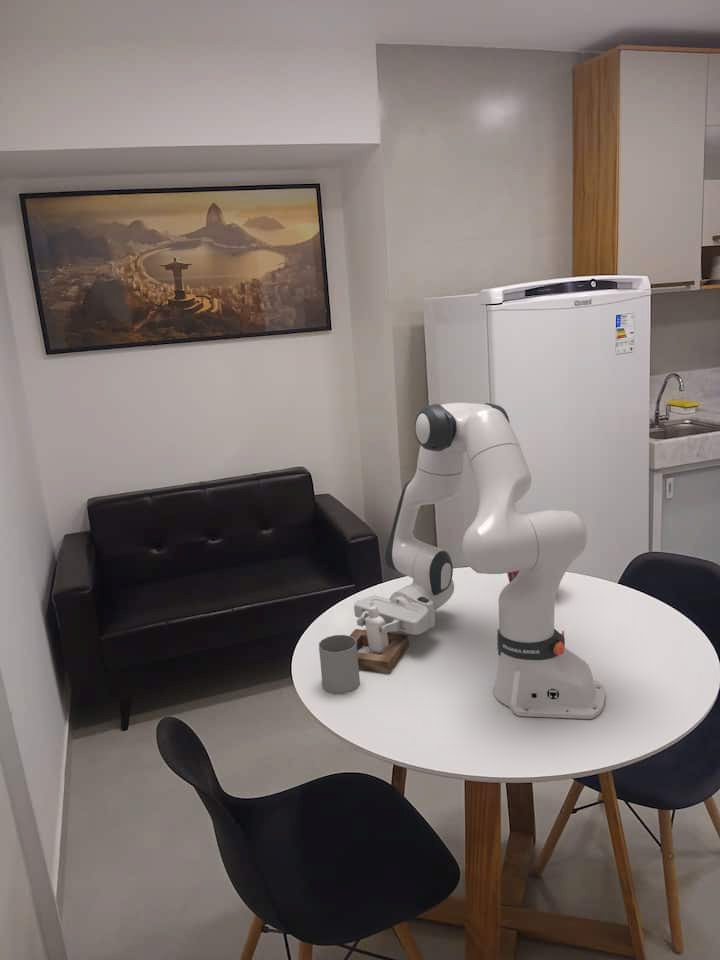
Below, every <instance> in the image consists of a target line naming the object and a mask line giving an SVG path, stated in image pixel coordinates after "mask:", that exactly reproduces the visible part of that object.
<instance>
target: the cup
mask: <svg viewBox="0 0 720 960" xmlns="http://www.w3.org/2000/svg"><path fill="white" fill-rule="evenodd" d="M318 651H319V653H318V654H319V661H320V672H321V683H322V690H324V691H325V692H326V693H328V694H331V693H332V694H333V695H345V694H349V692H350V693H352V692H354V691H355V690H357V689H359V687H360V685H361V681H360V670H359V666H358V654H357V643H356V639H354V638H353V637H351V636H350V635H346V634H334V635H330V636H327V637H325V638H322V639H321V640H320V641H319V642H318Z"/></svg>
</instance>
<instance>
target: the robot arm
mask: <svg viewBox="0 0 720 960" xmlns="http://www.w3.org/2000/svg"><path fill="white" fill-rule="evenodd" d="M415 418H416V419H415V422H414V423H415V424H414V431H415V437H416V440H417V442H418V443H419V452H418V457H417V463H416V464H417V465H416V471H415V474H414V476H413V478H412V479H409V480H408V481H407V482H406V483H405V484H404V487H403V488H402V491H401V494H400V497H399V500H398V505H397V508H396V513H395V515H394V520H393V525H392V528H391V532H390V536H389V538H388V540H387V542H386V544H385V547H384V549H383V559H384V562H385V565H386V567H387V569H388V570H390V571H391V572H394V573H398V574H401V575H404V576H407V577H409V578H411V579H412V583H411V584H409V585H407V586H406V585H405V587H402V588H401V589H398V590H396V591H394V592H393V593H392V594H391V595H390V597H389V598H386V597H382V596H378V595H372V596H371V595H370V596H368V597H367V596H366V597H365V598H362V599H360V600H357V601H355V603H354V604H353V609H354V616H355V617H356V618H357V620H356V624H357V626H359V627H361V628H362V627H364V626H365V619H366V618H367V617H368V616H369V614H368V607H370V602H371V601H373V602H374V605H375V606H378V612H379V616H381V617H382V618H383V619H384V620H385V624H384V623H383V624H382V625H380V626H379V632H380V633H383V634H386V633H392V632H397V631H399V632H402V633H406V634H407V635H412V636H418V635H421V634H423V633H425V632H427V630H429V629H430V628H432V627H435V623H436V622H435V621H436V620H435V618H436V616H435V615H436V614H435V611H437V610H438V609H439V608H441V607H442V606H443V605H445V604H446V603H448V601H449V600H450V599H451V598H452V596H453V594H454V593H455V583H454V580H453V571H454V567H453V562H452V559H451V558H452V557H451V556H450V554H449V553H448V551H445V550H443V549H441V548H439V547H437V546H434V545H432V544H428V543H426V542H423V541H421V540H419V539H417V538H416V537H415V536H414V527H415V524H416V519H417V517H418V513H419V509H420V508H421V506H425V505H435V504H440V503H443V502H447V501H449V500H451V499H452V498H453V497H455V495H456V494H457V493H458V492H459V490H460V487H461V484H462V480H463V479H462V477H463V471H464V470H463V469H464V456H465V453H467V454H466V455H467V458H468V461H469V464H470V468H471V471H472V474H473V478H474V481H475V485H476V488H477V490H476V491H477V494H478V509H477V513H476V516H475V519H473V522H472V523H471V524H470V526H469V527H467V530H466V531H465V533H464V535H463V537H462V541H461V550H462V554H463V558H464V560H465V562H466V564H467V565H468V566H469V568H470V569H471V570H472V571H474V572H475V573H476V574H483V575H484V574H486V575H502V574H507V573H509V572H515V571H519V573H518V574H517V576H516V577H515V578H514V579H513V580H512V581H511V582H508V584H506V585H505V586H504V587H503V589H502V590H501V592H500V593H499V595H498V622H499V623H498V625H499V626H498V630H497V633H496V647H497V648H496V649H497V655H498V656H499V657H498V665H497V667H498V668H497V675H496V678H495V682H494V686H493V695H494V697H495V698H496V699H497V700H498V701H499V703H502V705H505V706H507V707H508V708H510V710H511V711H512V712H513V713H514V714H515V715H516V716H518V717H528V718H529V717H534V718H556V719H561V718H562V719H582V720H585V719H586V720H590V719H591V720H593V719H594V718H596V717H598V716H599V715H600V714H601V713H602V711H603V710H604V708H605V704H606V691H605V688H604V686H603V685H602V683H600V682H599V681H598V680H595V679H594V677H593V674H592V670H591V667H590V666H589V664H588V663H587V662H586V660H584V659H582V658H581V657H579V656H578V655H576V654H575V653H574V652H572V651H570V650H569V649H568V648H566V639H565V638H566V637H565V631H564V630H562V631H561V633H560V632H559V631H558V630H557V629H555V609H556V598H557V594H558V589H559V587H560V585H561V582H562V580H563V578H564V575H565V574H566V572H567V571H568V569H569V568H570V566H571V565H572V564H573V563H574V562H575V561H576V559H578V558H579V557H580V556H581V555H582V554H583V553H584V551H585V550H586V546H587V541H588V532H587V529H586V525H585V523H584V522H583V520H582V519H581V517H580V516H579V515H578V514H576V513H575V512H573V511H571V510H560V509H559V510H558V509H557V510H556V509H546V510H541V511H540V510H539V511H535V512H527V513H519V512H518V510H517V507H516V503H517V502H518V501H520V500H521V499H522V498H523V497H524V496H525V495H527V493H528V491H530V488H531V486H532V485H531V484H532V475H531V473H530V470H529V467H528V464H527V462H526V458H525V455H524V453H523V450H522V447H521V445H520V442H519V440H518V438H517V435H516V434H515V431H514V429H513V426H512V425H511V423H510V419H509V416H508V413H507V411H506V410H505V409H504V408H503V407H502V406H501V405H497V404H493V403H489V402H486V403H478V402H477V403H474V402H473V403H472V402H462V401H461V402H449V403H443V404H439V403H434V404H430V405H427V406H424V407H422V408H421V409H420V410H419V411H418V414H417V415H416V417H415ZM365 627H366V626H365Z"/></svg>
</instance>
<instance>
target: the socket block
mask: <svg viewBox="0 0 720 960" xmlns="http://www.w3.org/2000/svg"><path fill="white" fill-rule="evenodd" d="M409 635H410V634H404V633H396V632H395V633H394V632H387V636H388V643H389V646H388V647H387V649H386V650H385V651H384V652H383V653H381V654H377V653H376V654H375V653H371V652H370V653H368V652H361V651H360V650H361V649H362V648H363V647H366V646H369V645H368V638H367V632H366V629H359V628H358V629H357V628H355V629H354V630H353V631H352V632H351V633H350V634H349V636H351V637H353V638H354V639H356V643H357V654H358V666H359V671H364V672H371V673H380V674H386V675H390V674H391V673H392V672H393V670H394V669H395V667H396V666H397V664H398V663H399V662H400V660H401V658H402V657H403V656H404V654H405V653H406V652H407V650H408V649H409V647H410V639H409V638H410V637H409ZM359 649H360V650H359ZM358 650H359V651H360V652H359V651H358ZM405 651H406V652H405Z"/></svg>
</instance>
